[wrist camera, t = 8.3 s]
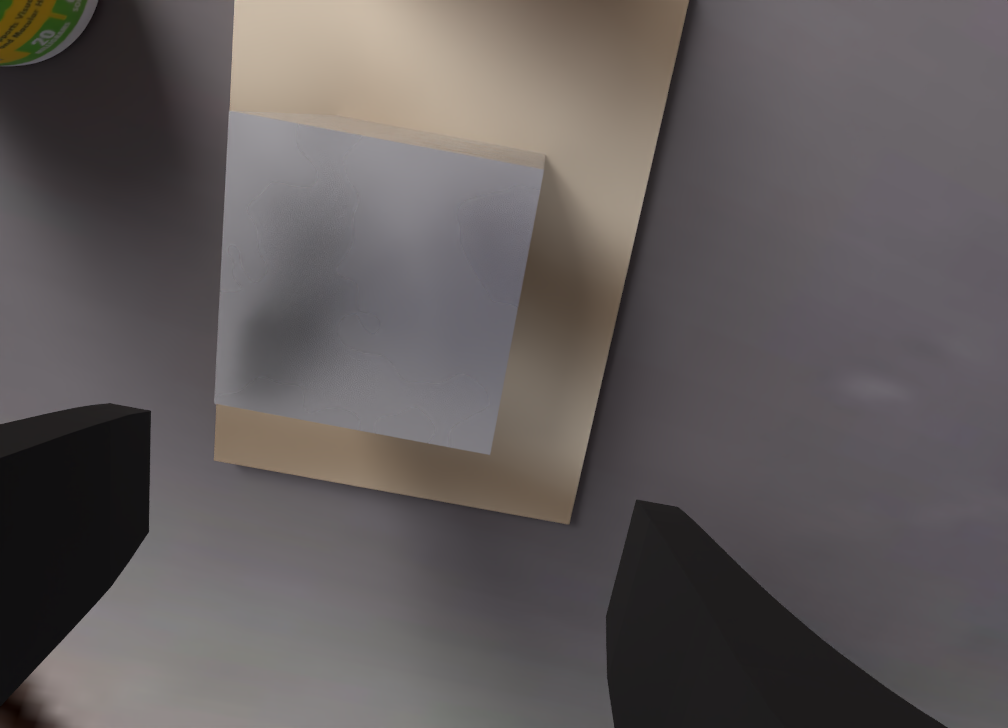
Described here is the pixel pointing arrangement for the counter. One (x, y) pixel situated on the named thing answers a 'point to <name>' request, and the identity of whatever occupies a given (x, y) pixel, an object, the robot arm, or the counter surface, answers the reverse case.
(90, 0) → the supplement bottle
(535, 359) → the board
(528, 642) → the counter surface
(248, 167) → the brushed gray cube
